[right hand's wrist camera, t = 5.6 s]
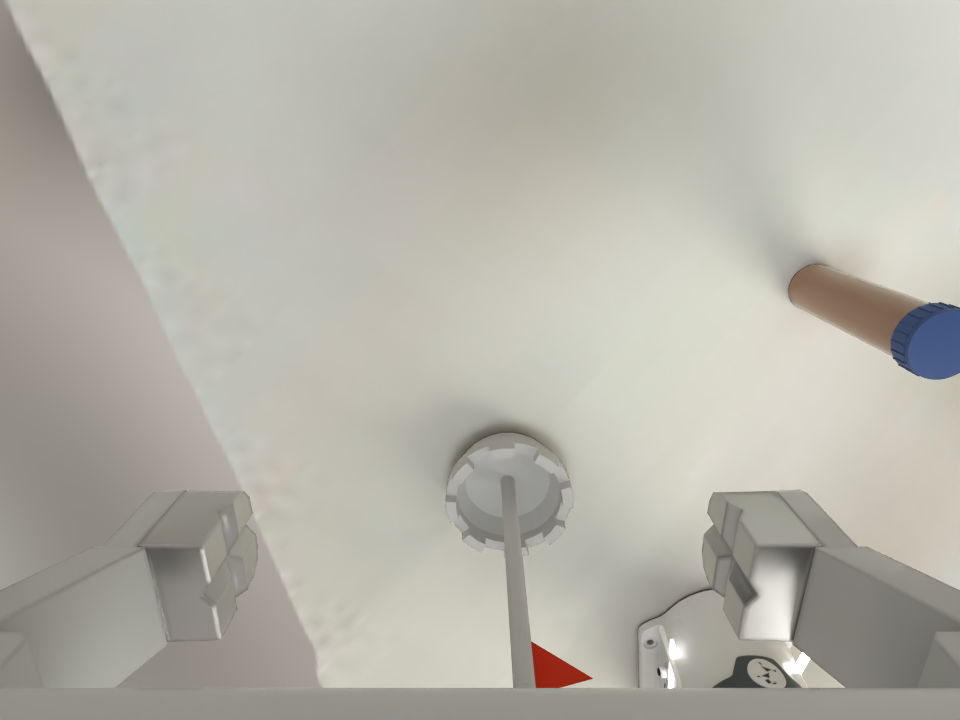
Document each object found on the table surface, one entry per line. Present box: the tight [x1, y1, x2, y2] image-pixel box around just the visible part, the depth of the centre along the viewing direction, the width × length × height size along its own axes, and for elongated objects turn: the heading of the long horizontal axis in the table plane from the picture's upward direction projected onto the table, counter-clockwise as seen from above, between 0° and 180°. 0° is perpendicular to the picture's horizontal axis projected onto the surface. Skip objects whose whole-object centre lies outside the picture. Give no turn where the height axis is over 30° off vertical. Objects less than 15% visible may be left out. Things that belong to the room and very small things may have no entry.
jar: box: [789, 264, 929, 357], centre depth 50 cm, size 5×5×17 cm
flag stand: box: [445, 433, 593, 688], centre depth 51 cm, size 13×13×30 cm
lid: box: [890, 302, 960, 380], centre depth 42 cm, size 5×5×2 cm
